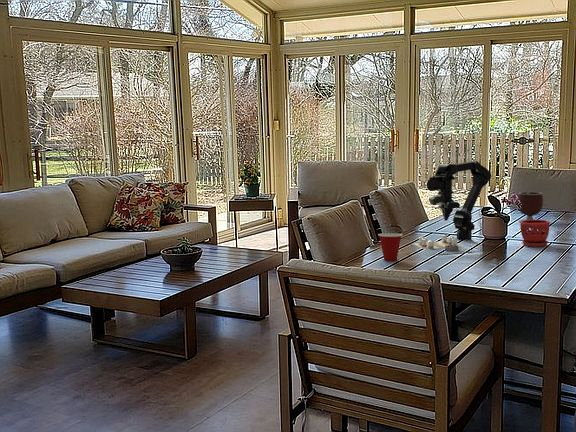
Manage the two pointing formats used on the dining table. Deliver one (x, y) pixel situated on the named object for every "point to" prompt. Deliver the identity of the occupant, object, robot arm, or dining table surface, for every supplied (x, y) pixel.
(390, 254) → the plastic cup
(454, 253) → the mat
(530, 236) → the plant pot
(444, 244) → the board
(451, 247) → the dark grey hexagonal block
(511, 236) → the dining table surface
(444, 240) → the steel spacers
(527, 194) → the mate gourd
